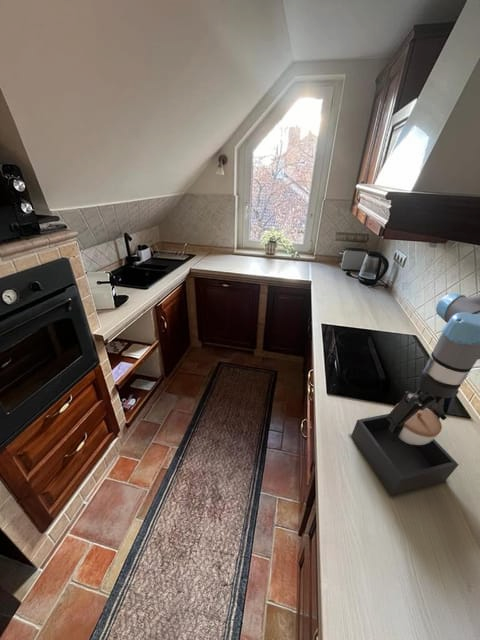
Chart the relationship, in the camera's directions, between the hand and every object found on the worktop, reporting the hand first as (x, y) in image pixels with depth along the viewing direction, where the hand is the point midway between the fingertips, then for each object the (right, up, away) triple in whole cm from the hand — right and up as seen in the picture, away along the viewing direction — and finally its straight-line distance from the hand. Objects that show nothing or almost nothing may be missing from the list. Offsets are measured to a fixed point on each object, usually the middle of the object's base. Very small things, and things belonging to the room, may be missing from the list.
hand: (407, 433), depth 71 cm
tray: (0, -10, +6) cm, 11 cm away
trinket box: (0, -1, 0) cm, 1 cm away
